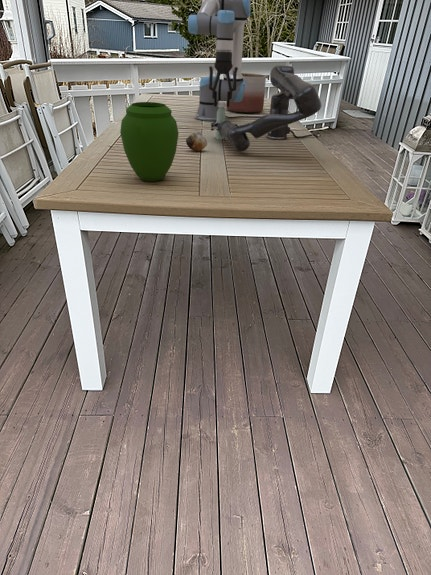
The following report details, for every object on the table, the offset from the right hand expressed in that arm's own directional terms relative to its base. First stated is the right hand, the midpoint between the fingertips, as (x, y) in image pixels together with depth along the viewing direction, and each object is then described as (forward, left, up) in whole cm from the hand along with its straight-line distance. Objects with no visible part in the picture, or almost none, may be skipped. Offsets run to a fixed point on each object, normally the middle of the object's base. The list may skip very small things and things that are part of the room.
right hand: (219, 123), depth 205 cm
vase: (+42, +64, -7) cm, 77 cm away
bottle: (0, +3, -7) cm, 7 cm away
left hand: (0, +3, +9) cm, 9 cm away
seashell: (+17, +26, -7) cm, 32 cm away
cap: (0, +3, +10) cm, 10 cm away
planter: (-40, -78, -7) cm, 88 cm away
